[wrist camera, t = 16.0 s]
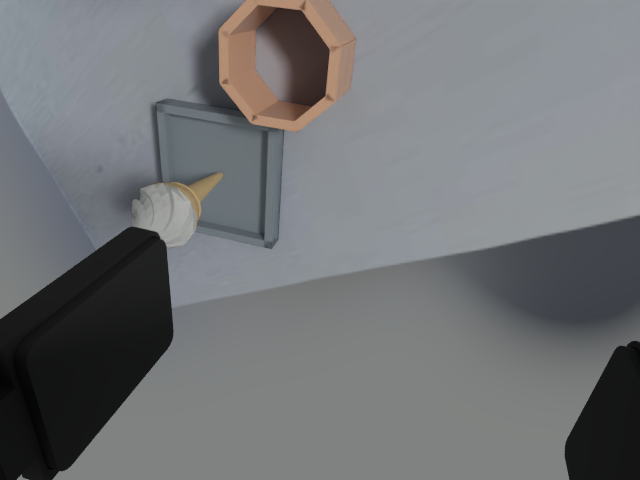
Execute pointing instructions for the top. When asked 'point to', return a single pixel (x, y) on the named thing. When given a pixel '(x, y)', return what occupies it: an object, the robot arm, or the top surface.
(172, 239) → the ice cream cone
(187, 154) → the slate tray
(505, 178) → the top surface
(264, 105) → the holder cup
